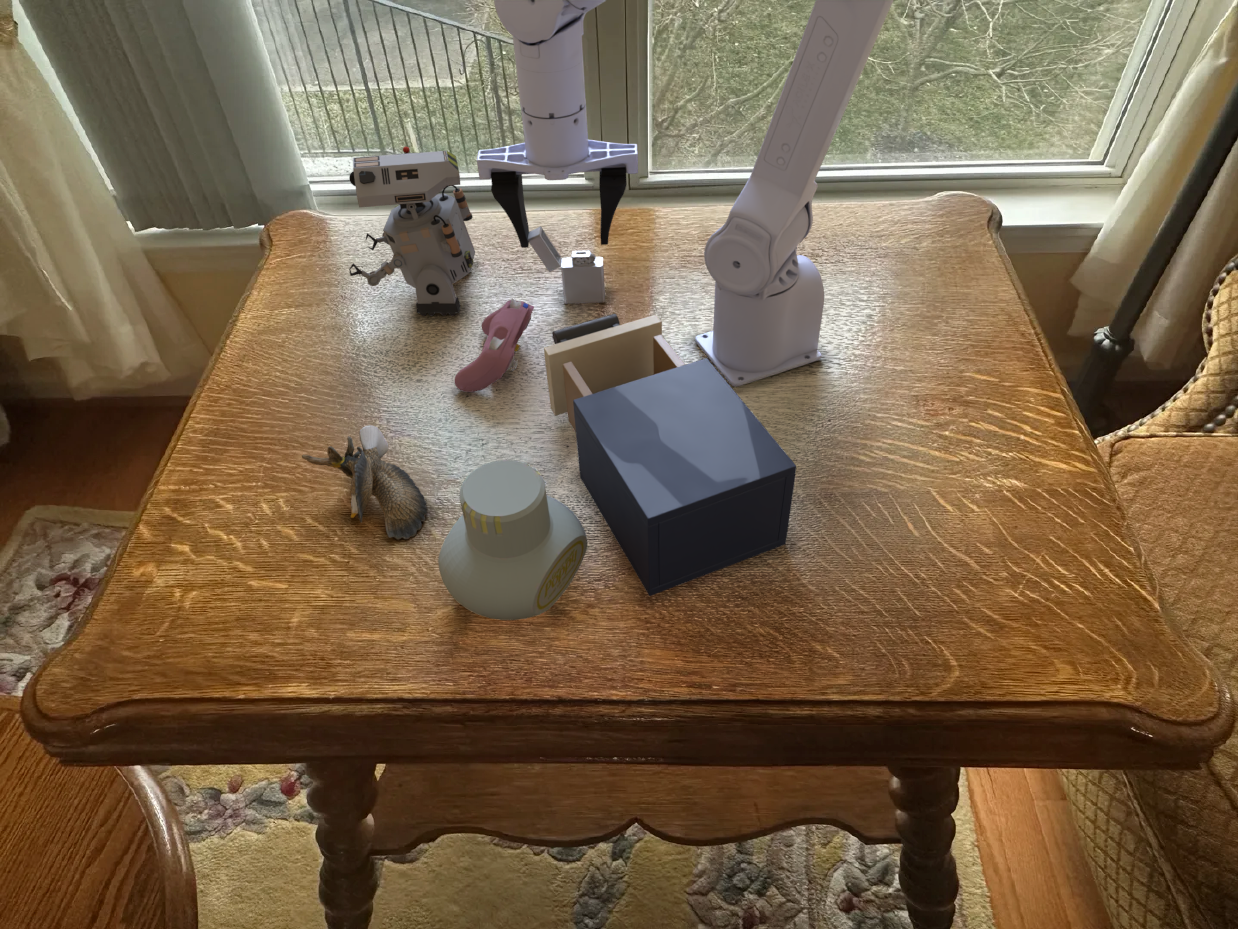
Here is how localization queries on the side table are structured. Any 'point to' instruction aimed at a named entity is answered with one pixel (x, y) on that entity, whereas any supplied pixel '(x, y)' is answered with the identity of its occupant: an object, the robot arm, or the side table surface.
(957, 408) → the side table surface
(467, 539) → the air freshener
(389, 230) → the figurine
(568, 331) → the drawer
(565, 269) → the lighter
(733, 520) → the cabinet
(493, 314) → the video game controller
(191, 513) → the side table surface
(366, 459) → the eagle figurine
